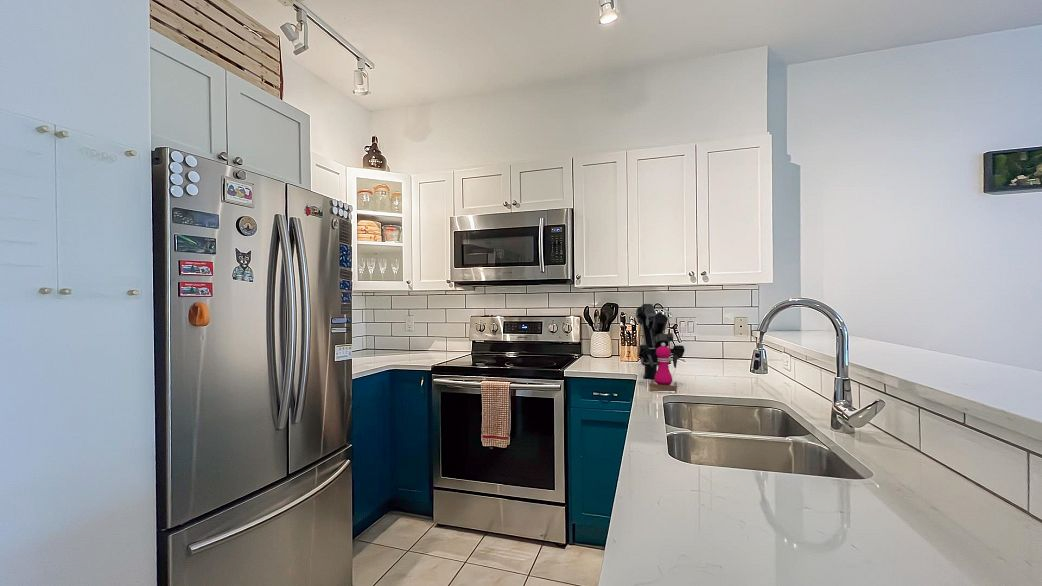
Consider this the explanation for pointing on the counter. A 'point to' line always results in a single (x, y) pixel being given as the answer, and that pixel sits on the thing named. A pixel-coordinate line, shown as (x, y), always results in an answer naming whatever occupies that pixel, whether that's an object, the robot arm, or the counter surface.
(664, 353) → the pepper mill
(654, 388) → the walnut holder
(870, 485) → the counter surface
